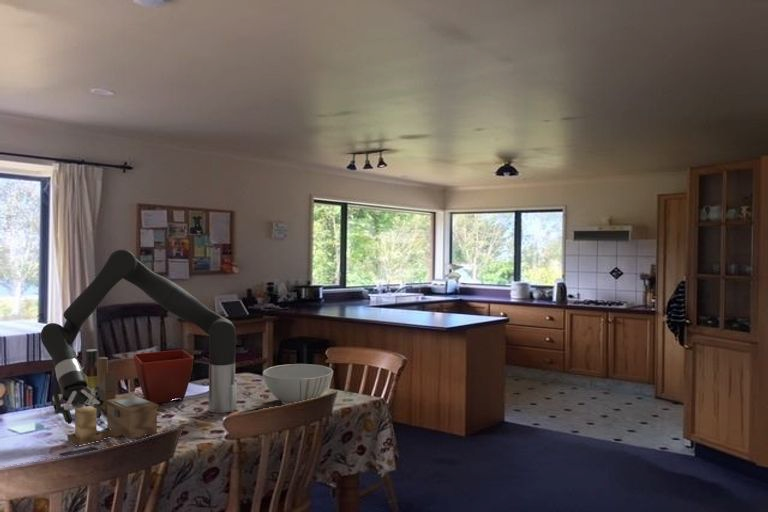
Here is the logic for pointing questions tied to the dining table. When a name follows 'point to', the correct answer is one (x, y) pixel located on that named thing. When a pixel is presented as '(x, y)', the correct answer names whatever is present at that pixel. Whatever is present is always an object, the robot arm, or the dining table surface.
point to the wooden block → (105, 381)
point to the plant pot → (163, 374)
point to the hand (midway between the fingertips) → (85, 419)
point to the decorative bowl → (297, 381)
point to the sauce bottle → (91, 369)
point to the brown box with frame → (125, 419)
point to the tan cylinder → (85, 422)
